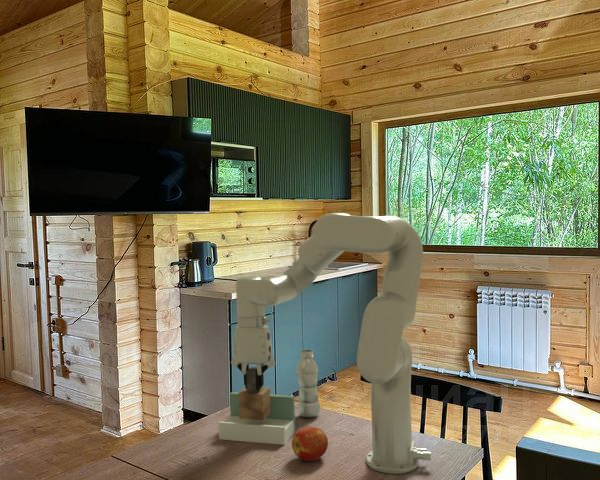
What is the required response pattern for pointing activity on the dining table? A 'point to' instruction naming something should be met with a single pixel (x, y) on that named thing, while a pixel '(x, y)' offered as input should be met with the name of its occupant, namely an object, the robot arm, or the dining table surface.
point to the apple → (309, 443)
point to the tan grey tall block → (254, 399)
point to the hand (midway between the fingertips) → (254, 387)
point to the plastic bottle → (307, 385)
